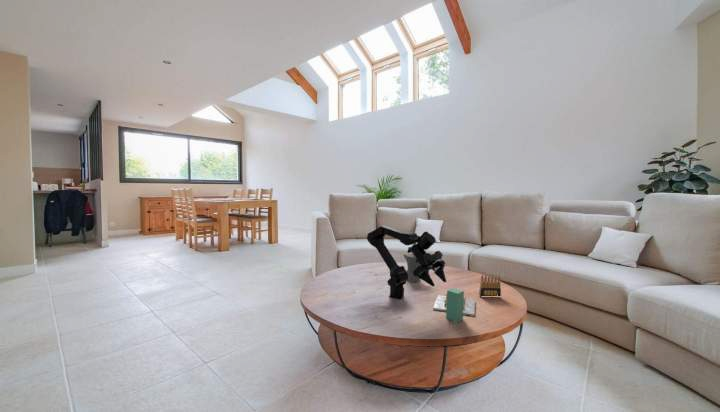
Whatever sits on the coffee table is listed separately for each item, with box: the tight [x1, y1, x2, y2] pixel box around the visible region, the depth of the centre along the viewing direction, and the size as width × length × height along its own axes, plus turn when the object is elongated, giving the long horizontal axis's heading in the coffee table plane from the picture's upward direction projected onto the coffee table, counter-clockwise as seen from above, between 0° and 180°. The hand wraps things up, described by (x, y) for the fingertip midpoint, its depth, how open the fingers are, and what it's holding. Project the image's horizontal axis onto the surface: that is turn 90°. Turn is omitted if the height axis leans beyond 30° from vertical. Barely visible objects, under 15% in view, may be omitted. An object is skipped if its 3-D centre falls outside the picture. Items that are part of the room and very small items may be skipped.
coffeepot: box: [402, 253, 421, 283], centre depth 183 cm, size 15×9×18 cm, turn 62°
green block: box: [445, 287, 465, 323], centre depth 130 cm, size 5×5×12 cm
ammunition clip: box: [478, 274, 502, 297], centre depth 157 cm, size 11×2×12 cm, turn 90°
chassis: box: [432, 293, 476, 317], centre depth 145 cm, size 18×18×4 cm
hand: (439, 284), depth 136 cm, fingers open, 9 cm apart
